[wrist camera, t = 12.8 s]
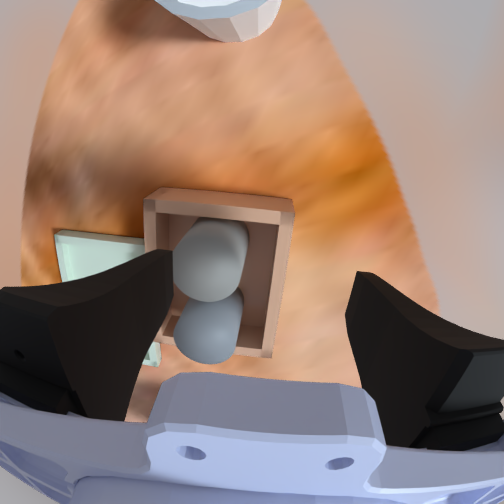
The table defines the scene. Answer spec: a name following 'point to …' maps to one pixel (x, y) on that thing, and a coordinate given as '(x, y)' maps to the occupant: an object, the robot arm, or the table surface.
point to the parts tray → (99, 262)
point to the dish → (256, 262)
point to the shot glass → (226, 16)
